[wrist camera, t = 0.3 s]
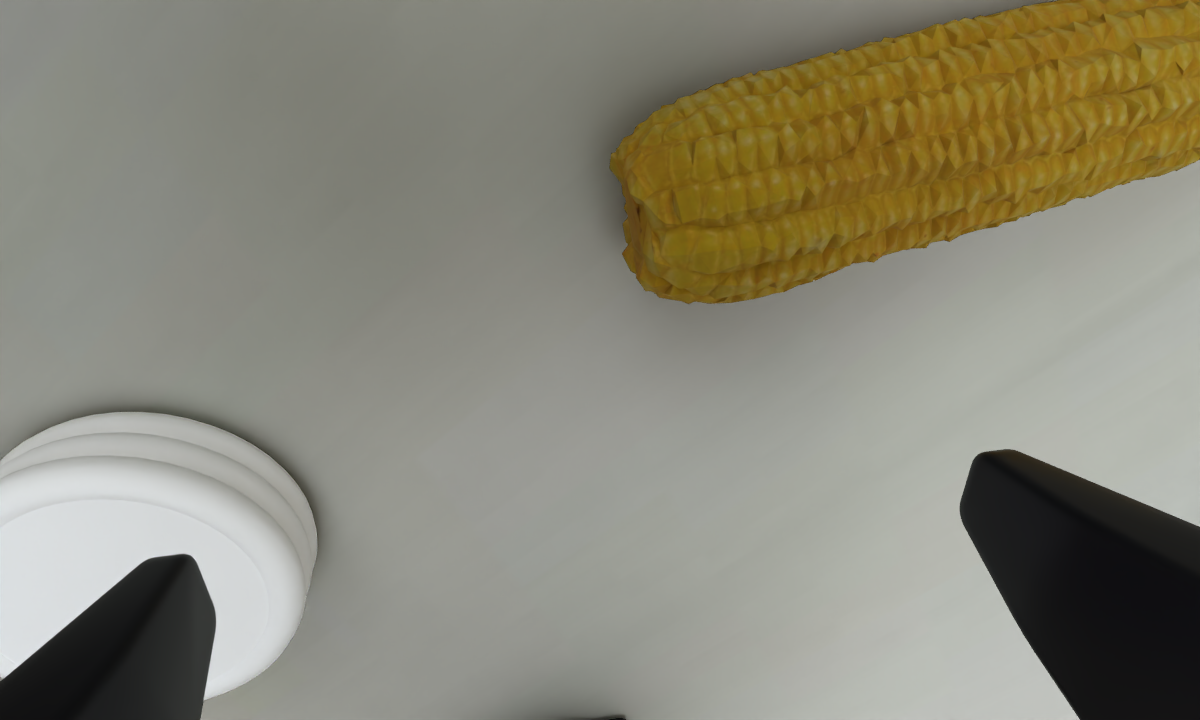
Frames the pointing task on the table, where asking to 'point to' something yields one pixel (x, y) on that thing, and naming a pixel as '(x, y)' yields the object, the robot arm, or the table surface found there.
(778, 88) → the food
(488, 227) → the table surface
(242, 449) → the coaster
